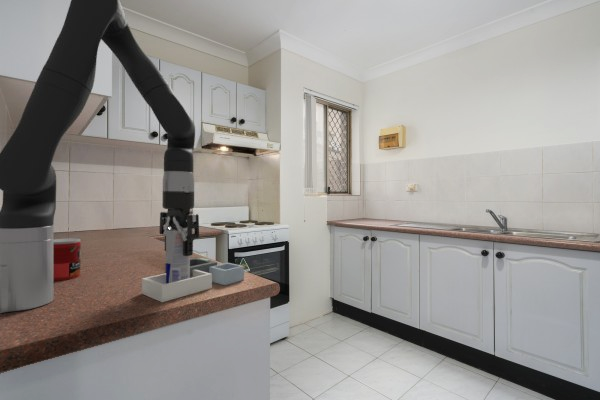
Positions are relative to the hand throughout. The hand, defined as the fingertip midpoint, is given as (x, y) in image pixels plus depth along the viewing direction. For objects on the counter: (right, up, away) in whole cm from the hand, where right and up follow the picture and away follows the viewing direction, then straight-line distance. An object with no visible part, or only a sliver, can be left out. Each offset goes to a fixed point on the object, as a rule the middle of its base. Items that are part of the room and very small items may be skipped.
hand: (178, 253), depth 77 cm
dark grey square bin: (-1, -9, +12) cm, 15 cm away
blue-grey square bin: (+10, -10, +10) cm, 17 cm away
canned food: (-38, -9, +11) cm, 41 cm away
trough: (0, -10, 0) cm, 10 cm away
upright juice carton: (0, -9, 0) cm, 9 cm away
